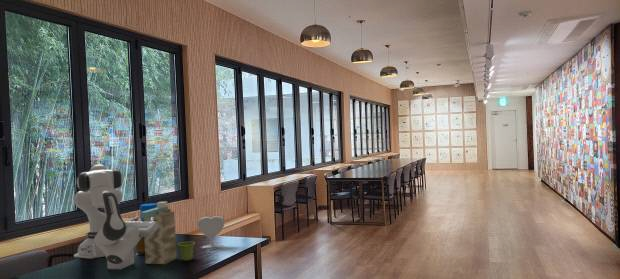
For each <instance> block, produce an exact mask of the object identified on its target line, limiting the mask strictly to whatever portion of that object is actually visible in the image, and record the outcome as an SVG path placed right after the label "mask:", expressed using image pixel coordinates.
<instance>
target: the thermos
mask: <svg viewBox="0 0 620 279" xmlns="http://www.w3.org/2000/svg"><path fill="white" fill-rule="evenodd" d="M157 203H158V202H155V203H153V202H151V203H144V204H140V206H139V209H140V211H139V213H140V212H143V211H147V210H150V209H154V208H157ZM140 222H144V219H143V218H140Z"/></svg>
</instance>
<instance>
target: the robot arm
mask: <svg viewBox="0 0 620 279" xmlns="http://www.w3.org/2000/svg"><path fill="white" fill-rule="evenodd" d="M123 179H124V178H123V175H122V172H121V171H120V170H118V169H115V168H114V169H108V168H107V167H106V166H105V165H104V164H94V165H93V166H92V167H91V168H90V169H89V171H84V172H80V173H79V174H78V175H77V178H76V186H77V188H78V190H79V191H77V192H76V193H75V195H74V197H73V198H74V199H73V201H74V205H75V206H76V207H77V208H79V209H80V210H82V211H83V212H84V214H85V215H86V216H87V218H88V223H89V231H88V232H86V233H85V234H86V236H87V238H85V240H84V241H83V242H81V243H80V244H79V245H78V248H77V253H75V254H73V258H80V259H95V258H101V257H105V258H106V261H107V260H108V261H109V262H110V263H113V264H120V263H122V262H124V261H125V260H126V259H127V257H128V256H129V255H130V254H131V252H132V250H133V251H134V248H136V247H137V244H138V242H139V241H140V239H141V237H148V236H151V235H152V234H154V232H155V231H156V230H157V229H158V224H157V223H156V222H154V220H155V218H154V217H151V218H150V220H151V221H150V222H141V221H139V218H140V217H139V216H134V217H133V218H132V219H130V220H129V221H128V220H127V221H126V220H125V221H124V220H123V217H122V215H121V210H120V207H119V205H120V203H121V202H122V201H123V192H122V191H121V189H119V188H120V187H121V186H122V184H123V181H124V180H123ZM99 208H100V209H104V212H102V211H99Z"/></svg>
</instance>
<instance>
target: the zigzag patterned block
mask: <svg viewBox="0 0 620 279" xmlns="http://www.w3.org/2000/svg"><path fill="white" fill-rule="evenodd" d="M171 210H172V209H171V208H168V209H167V210H164V211H160V212H158V215H155V216H152V217H154V218H155V220H154V222H156V223H157V224H158V229H157V230H156V231H155V232H154V234H152V235H151V236H148V237H144V241H145V254H144V257H145V259H144V260H145V264H150V265H167V264H169V263H171V262H172V261H174V260H177V240H176V238H177V237H176V222H175V221H176V220H175V217H176V216H175V211H171ZM150 218H151V217H149V218H143V219H144V222H150V221H151V220H150Z"/></svg>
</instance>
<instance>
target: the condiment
mask: <svg viewBox="0 0 620 279" xmlns="http://www.w3.org/2000/svg"><path fill="white" fill-rule="evenodd" d="M134 255H135V256H140V255H145V241H144V237H141V239H140V241H139V242H138V244H137V245H136V253H135V254H134Z"/></svg>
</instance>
